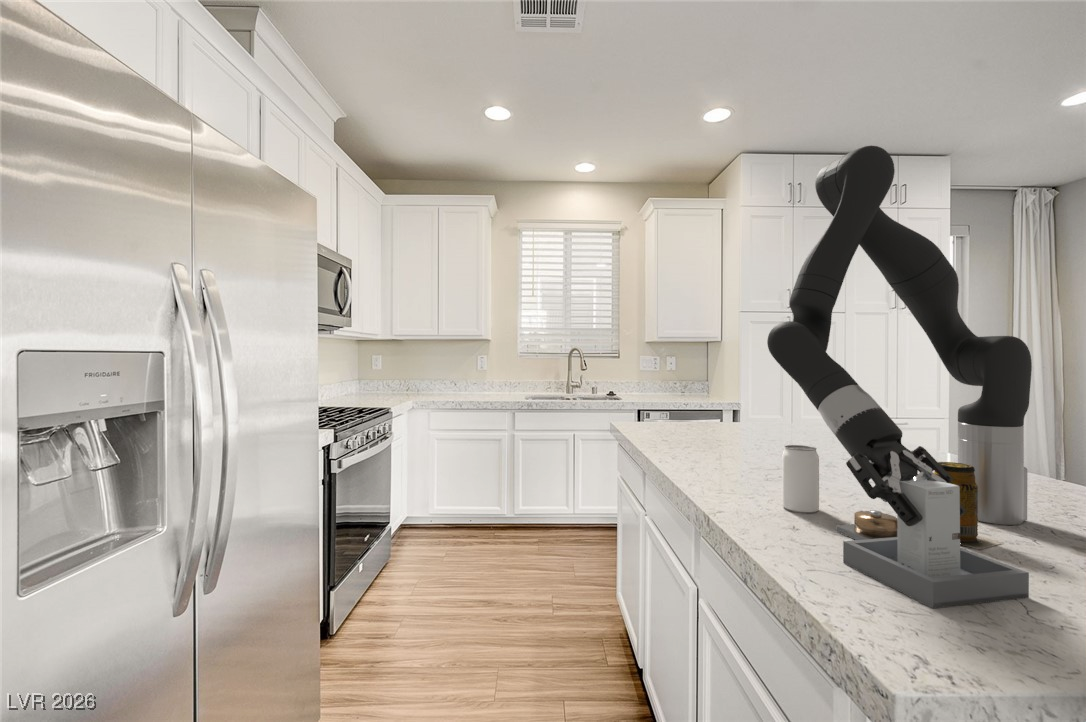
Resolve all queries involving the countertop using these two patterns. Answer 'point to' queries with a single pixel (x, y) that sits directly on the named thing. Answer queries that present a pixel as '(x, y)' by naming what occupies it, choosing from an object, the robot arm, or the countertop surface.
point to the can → (800, 479)
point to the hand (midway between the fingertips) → (938, 519)
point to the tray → (972, 586)
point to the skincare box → (931, 529)
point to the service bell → (870, 526)
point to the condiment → (967, 504)
